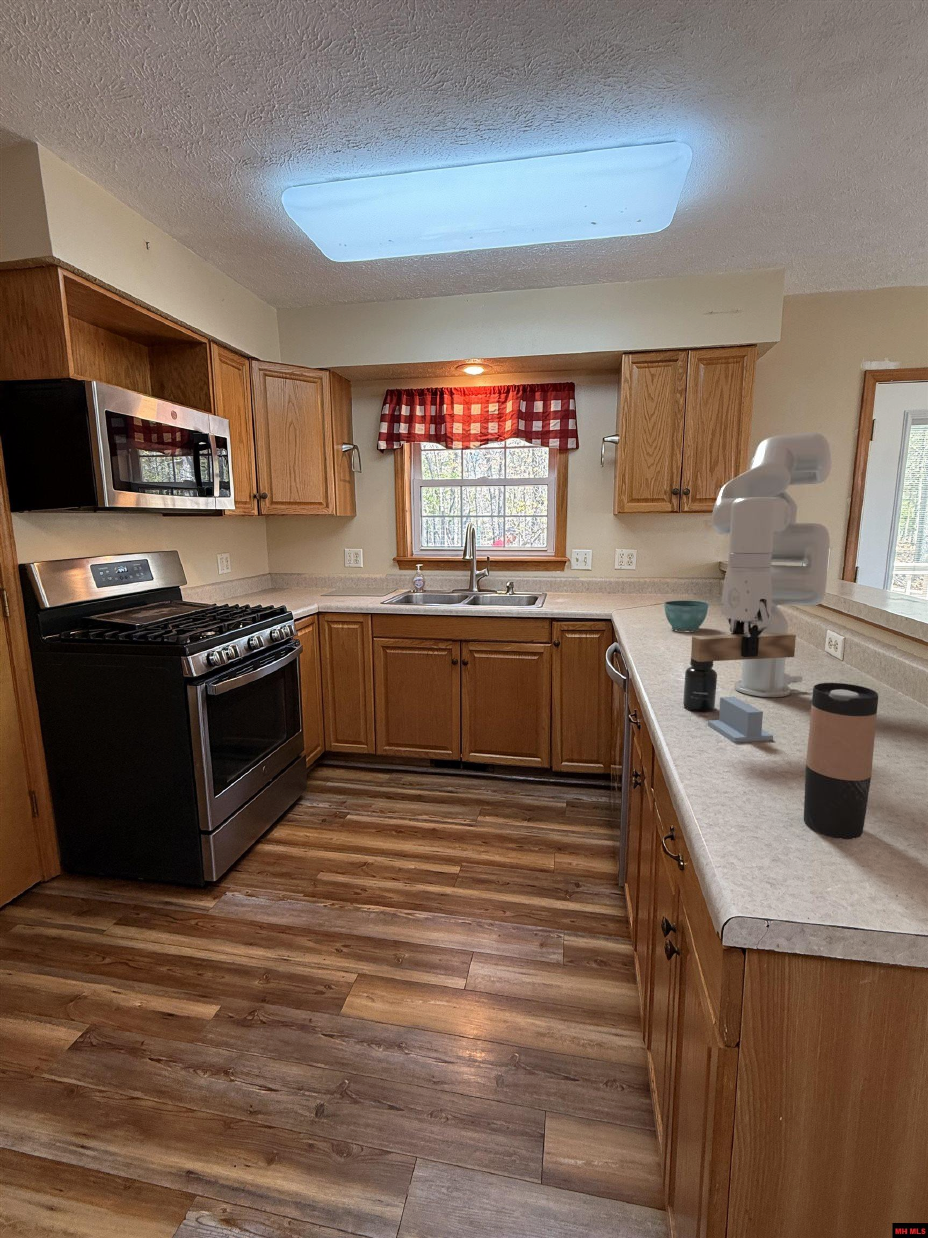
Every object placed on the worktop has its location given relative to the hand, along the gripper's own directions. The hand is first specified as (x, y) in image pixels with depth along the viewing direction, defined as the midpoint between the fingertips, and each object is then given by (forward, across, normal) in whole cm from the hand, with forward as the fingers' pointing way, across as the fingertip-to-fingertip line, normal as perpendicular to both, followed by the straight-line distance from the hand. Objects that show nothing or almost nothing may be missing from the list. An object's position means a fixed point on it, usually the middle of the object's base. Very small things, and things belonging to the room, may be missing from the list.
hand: (743, 653), depth 115 cm
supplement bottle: (+17, -16, 0) cm, 23 cm away
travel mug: (+17, +36, -8) cm, 40 cm away
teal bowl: (+17, -105, +42) cm, 114 cm away
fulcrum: (+17, 0, 0) cm, 17 cm away
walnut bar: (+1, 0, 0) cm, 1 cm away
